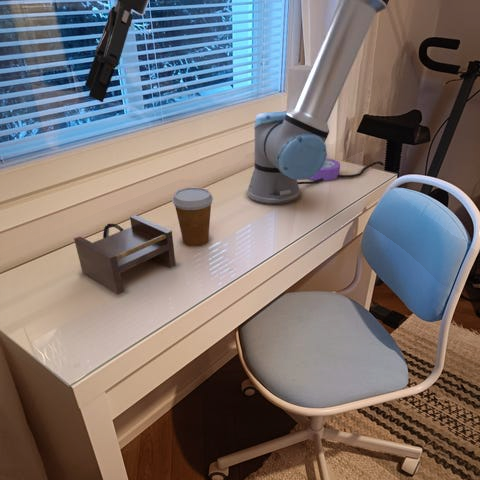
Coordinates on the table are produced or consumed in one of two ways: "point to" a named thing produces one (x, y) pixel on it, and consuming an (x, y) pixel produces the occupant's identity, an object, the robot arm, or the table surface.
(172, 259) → the rack
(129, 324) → the table surface
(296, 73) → the cylinder container
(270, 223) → the table surface
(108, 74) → the robot arm
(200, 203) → the disposable coffee cup
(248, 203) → the table surface
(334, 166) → the tape roll
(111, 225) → the smartwatch
